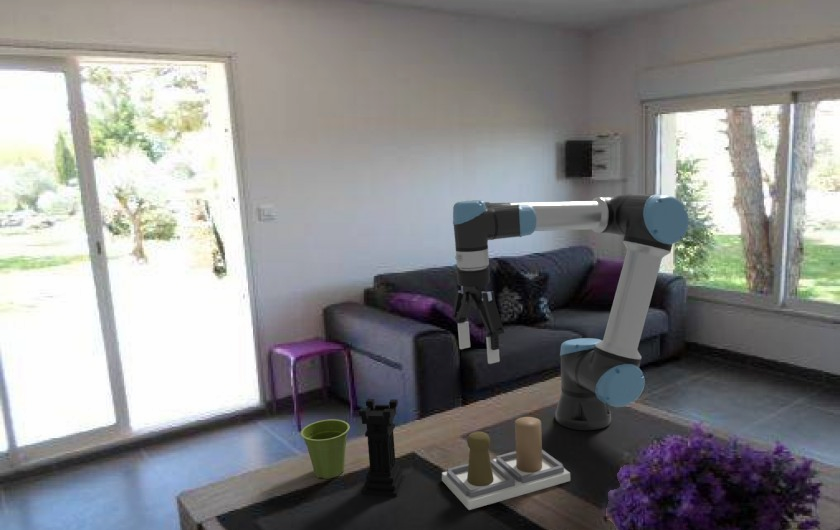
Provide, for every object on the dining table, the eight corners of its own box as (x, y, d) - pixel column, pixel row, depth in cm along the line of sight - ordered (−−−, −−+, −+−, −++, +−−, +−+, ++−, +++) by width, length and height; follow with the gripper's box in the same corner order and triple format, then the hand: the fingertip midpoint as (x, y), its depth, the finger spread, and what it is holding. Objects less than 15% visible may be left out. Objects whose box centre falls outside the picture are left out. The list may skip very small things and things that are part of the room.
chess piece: (396, 496, 138) (391, 412, 135) (362, 494, 140) (356, 411, 137) (404, 478, 146) (399, 398, 143) (372, 476, 148) (366, 398, 144)
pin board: (536, 455, 154) (535, 406, 151) (570, 480, 141) (569, 427, 139) (442, 480, 144) (439, 428, 142) (468, 510, 131) (466, 453, 129)
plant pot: (333, 456, 160) (330, 415, 158) (362, 470, 151) (359, 427, 149) (295, 473, 151) (291, 430, 150) (323, 489, 143) (319, 444, 141)
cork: (476, 489, 136) (474, 442, 134) (462, 477, 141) (459, 432, 139) (499, 481, 138) (497, 435, 137) (484, 470, 144) (482, 426, 142)
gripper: (434, 263, 152) (441, 345, 156) (486, 277, 130) (492, 372, 133) (461, 259, 155) (466, 339, 159) (516, 272, 133) (521, 365, 136)
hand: (478, 355), depth 146 cm, fingers open, 13 cm apart
